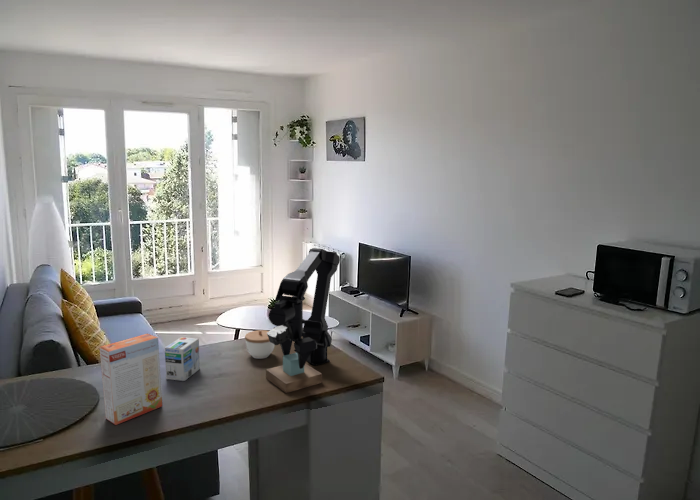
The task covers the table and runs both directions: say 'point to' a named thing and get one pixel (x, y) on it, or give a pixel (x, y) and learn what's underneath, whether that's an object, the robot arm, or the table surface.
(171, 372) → the light bulb box
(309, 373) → the plinth
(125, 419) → the cracker box
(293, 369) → the block
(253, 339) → the lidded jar
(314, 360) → the robot arm
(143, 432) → the table surface
